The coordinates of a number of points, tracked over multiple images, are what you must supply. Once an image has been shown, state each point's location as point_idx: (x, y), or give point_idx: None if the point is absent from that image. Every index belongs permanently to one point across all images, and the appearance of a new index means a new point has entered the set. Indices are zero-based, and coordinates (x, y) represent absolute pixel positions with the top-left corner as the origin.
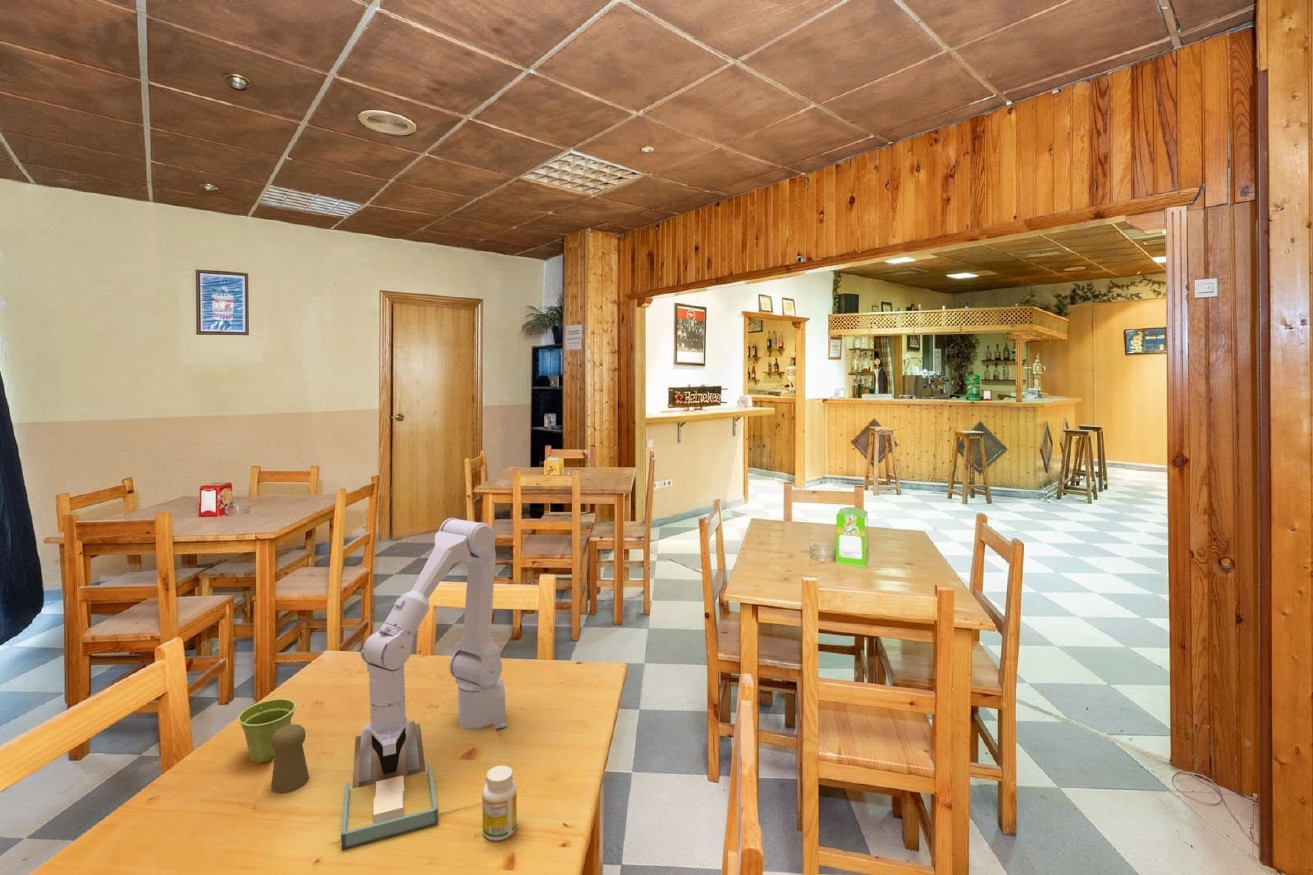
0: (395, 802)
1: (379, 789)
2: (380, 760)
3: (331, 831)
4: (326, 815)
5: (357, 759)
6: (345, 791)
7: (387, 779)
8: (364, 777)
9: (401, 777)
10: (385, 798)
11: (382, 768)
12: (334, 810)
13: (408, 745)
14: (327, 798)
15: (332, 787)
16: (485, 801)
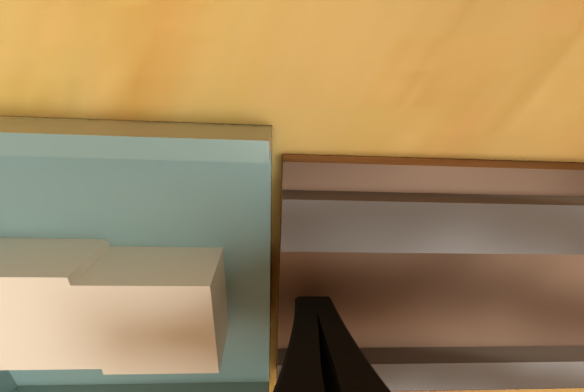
0: (18, 349)
1: (134, 299)
2: (281, 369)
3: (4, 59)
4: (145, 29)
5: (526, 184)
6: (174, 142)
7: (211, 325)
8: (313, 225)
9: (203, 368)
10: (53, 319)
11: (295, 320)
12: (178, 71)
13: (456, 370)
14: (298, 31)
15: (387, 57)
16: None
